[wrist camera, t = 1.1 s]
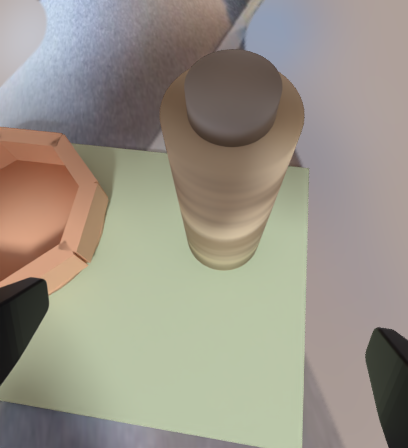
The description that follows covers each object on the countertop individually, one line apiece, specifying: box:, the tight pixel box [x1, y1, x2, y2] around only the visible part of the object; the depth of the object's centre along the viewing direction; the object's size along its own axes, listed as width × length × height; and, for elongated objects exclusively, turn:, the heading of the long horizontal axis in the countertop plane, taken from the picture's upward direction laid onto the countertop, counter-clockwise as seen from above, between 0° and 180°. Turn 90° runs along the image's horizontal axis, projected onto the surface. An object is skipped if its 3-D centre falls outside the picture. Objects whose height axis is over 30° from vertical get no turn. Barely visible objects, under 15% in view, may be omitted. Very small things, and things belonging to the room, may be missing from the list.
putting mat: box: [0, 143, 309, 448], centre depth 23 cm, size 19×28×1 cm
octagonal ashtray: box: [0, 127, 109, 296], centre depth 23 cm, size 12×12×3 cm
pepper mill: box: [160, 49, 304, 271], centre depth 17 cm, size 5×5×14 cm
